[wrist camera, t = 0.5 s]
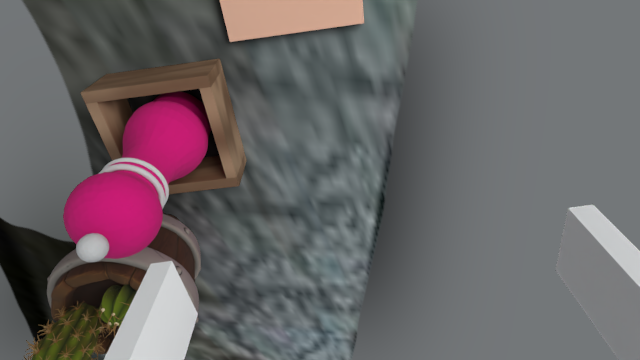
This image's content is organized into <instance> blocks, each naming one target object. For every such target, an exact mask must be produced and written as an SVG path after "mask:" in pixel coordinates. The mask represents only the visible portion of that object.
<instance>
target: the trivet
mask: <svg viewBox="0 0 640 360" xmlns="http://www.w3.org/2000/svg"><path fill="white" fill-rule="evenodd" d="M220 4H221V8H222V12H223V16H224V20H225V24H226V28H227V32H228V36H229V41H230V42H234V41H241V40H248V39H255V38H262V37H269V36H276V35H284V34H291V33H298V32H305V31H312V30H319V29H326V28H333V27H341V26H348V25H355V24H362V23H364V15H363V1H362V0H220Z"/></svg>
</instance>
